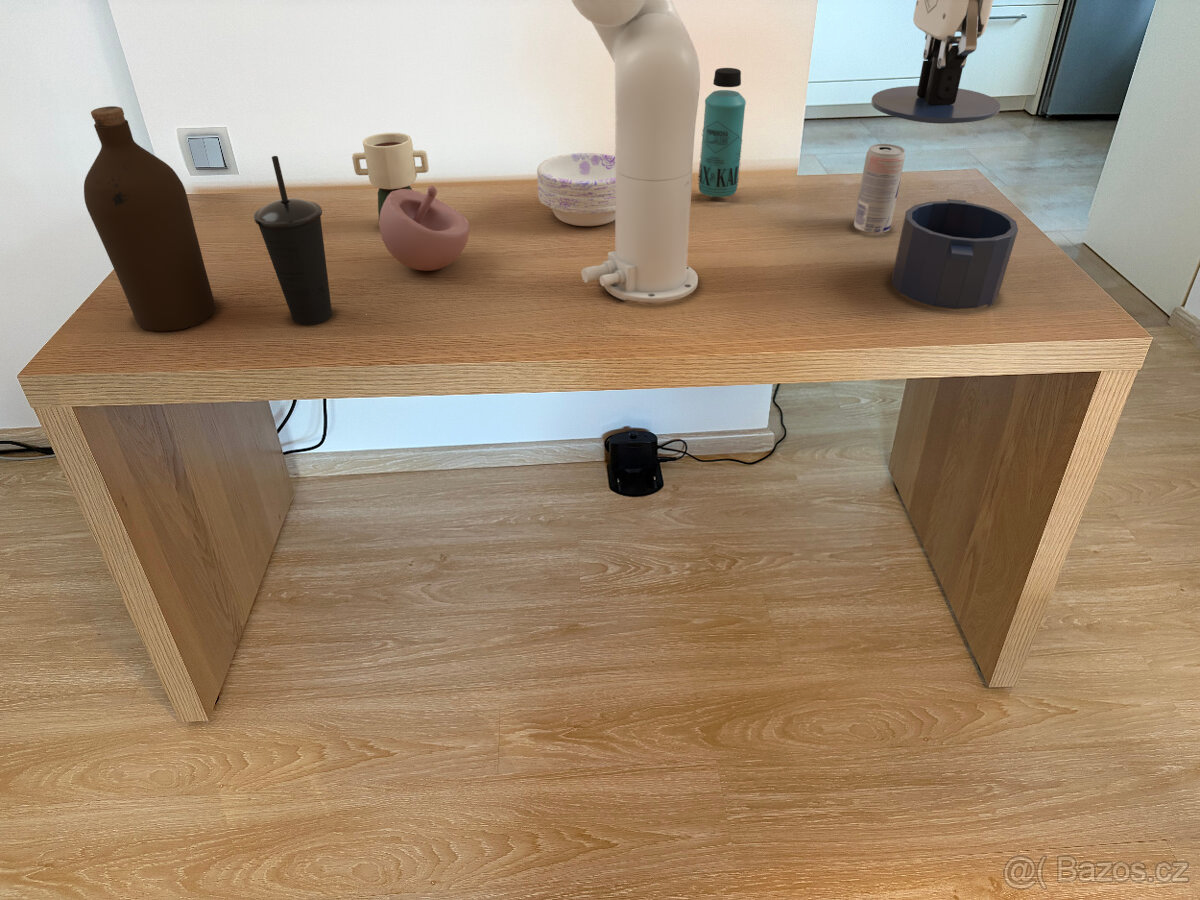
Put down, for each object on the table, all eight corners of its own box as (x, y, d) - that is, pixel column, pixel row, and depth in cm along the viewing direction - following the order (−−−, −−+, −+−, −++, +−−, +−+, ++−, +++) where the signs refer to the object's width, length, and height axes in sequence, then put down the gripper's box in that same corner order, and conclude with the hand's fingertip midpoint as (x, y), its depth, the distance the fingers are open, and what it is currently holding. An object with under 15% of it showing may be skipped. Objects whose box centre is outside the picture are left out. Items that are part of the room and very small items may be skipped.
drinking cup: (284, 335, 102) (241, 171, 90) (277, 309, 108) (236, 151, 96) (348, 323, 105) (314, 162, 93) (338, 298, 110) (304, 143, 98)
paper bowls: (625, 195, 140) (625, 147, 135) (644, 230, 128) (646, 178, 123) (534, 202, 138) (531, 153, 133) (545, 238, 126) (542, 185, 121)
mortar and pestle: (470, 283, 114) (461, 200, 107) (381, 287, 113) (366, 204, 106) (475, 247, 123) (467, 169, 116) (392, 250, 123) (379, 172, 116)
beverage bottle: (697, 191, 141) (706, 63, 129) (737, 193, 140) (749, 64, 128) (696, 205, 136) (704, 73, 124) (737, 207, 135) (749, 74, 123)
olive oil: (233, 317, 106) (171, 111, 91) (145, 343, 101) (64, 129, 86) (205, 288, 113) (143, 92, 98) (121, 312, 108) (42, 108, 93)
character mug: (437, 214, 134) (426, 130, 126) (434, 232, 128) (423, 145, 120) (367, 218, 133) (352, 133, 125) (361, 235, 127) (345, 148, 119)
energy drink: (886, 223, 129) (902, 143, 122) (892, 236, 125) (909, 155, 118) (850, 222, 130) (864, 143, 123) (855, 235, 125) (870, 154, 118)
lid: (993, 98, 103) (1006, 45, 99) (1003, 132, 92) (1017, 74, 89) (872, 92, 106) (880, 41, 103) (867, 124, 96) (877, 68, 92)
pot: (991, 266, 117) (1010, 199, 111) (1001, 328, 102) (1024, 255, 97) (892, 255, 120) (906, 189, 114) (889, 314, 105) (905, 242, 100)
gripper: (911, -91, 94) (882, 84, 105) (968, -77, 81) (928, 121, 92) (977, -93, 94) (941, 82, 105) (1045, -79, 81) (995, 118, 92)
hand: (935, 99), depth 98 cm, fingers closed on lid, 2 cm apart
